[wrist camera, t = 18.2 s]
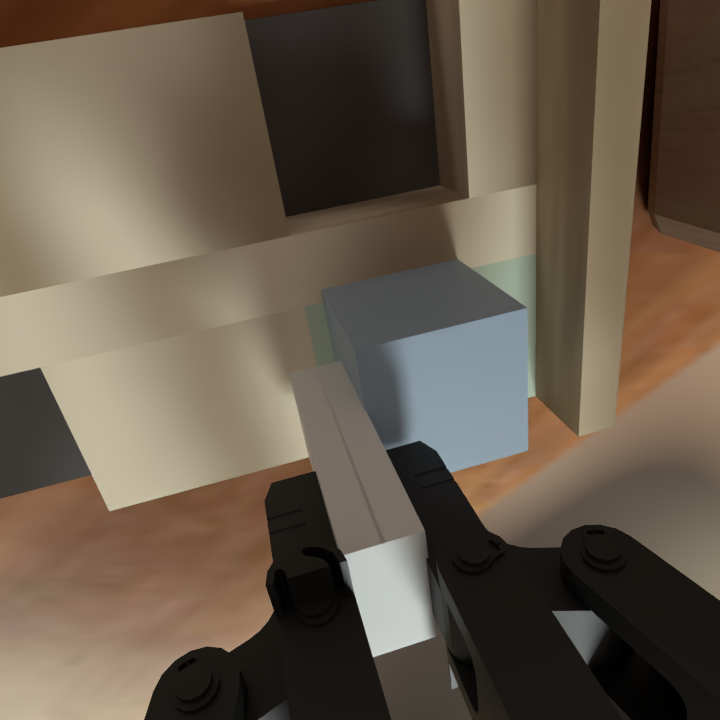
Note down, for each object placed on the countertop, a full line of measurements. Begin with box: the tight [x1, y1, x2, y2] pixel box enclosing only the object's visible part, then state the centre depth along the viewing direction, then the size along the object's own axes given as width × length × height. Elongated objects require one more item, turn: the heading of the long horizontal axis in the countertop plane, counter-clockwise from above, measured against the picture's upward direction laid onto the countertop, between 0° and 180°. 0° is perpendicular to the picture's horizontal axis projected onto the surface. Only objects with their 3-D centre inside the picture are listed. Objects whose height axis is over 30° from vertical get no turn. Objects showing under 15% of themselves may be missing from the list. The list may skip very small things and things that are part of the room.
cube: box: [321, 259, 528, 473], centre depth 15 cm, size 4×4×4 cm
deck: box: [0, 0, 651, 511], centre depth 14 cm, size 23×12×5 cm, turn 98°
